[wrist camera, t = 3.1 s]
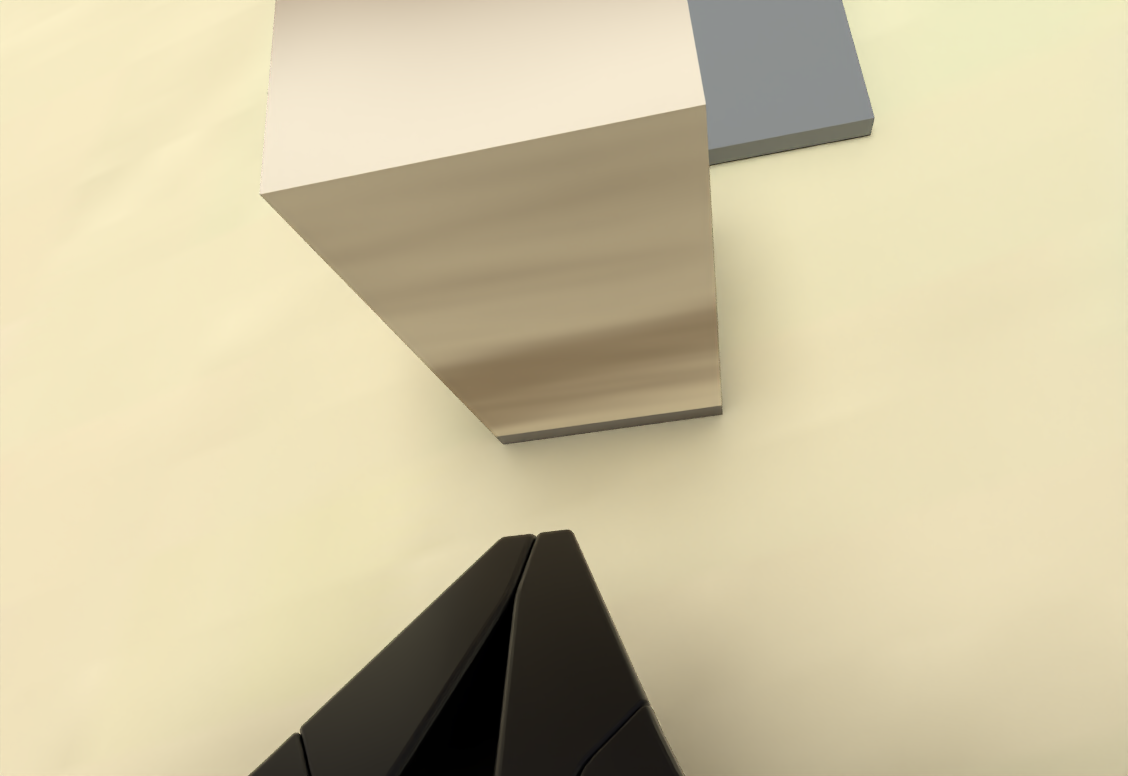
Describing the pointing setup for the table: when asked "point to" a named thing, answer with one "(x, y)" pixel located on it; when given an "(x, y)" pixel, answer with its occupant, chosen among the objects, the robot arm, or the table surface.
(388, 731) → the robot arm
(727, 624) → the table surface
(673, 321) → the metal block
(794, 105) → the mat
